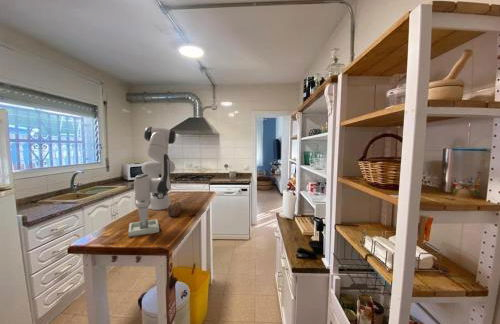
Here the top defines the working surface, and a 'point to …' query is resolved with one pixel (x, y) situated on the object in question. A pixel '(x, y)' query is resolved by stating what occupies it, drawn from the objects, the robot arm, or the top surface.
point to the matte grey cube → (143, 225)
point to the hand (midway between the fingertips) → (143, 223)
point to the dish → (136, 231)
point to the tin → (174, 209)
